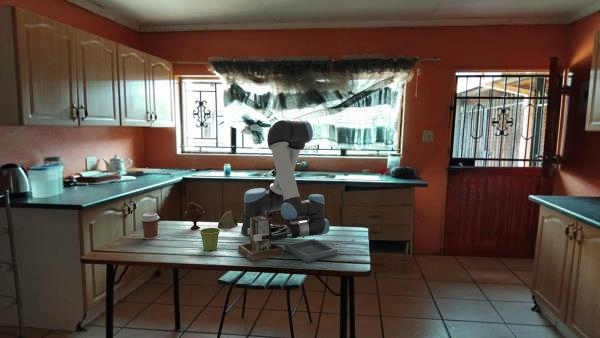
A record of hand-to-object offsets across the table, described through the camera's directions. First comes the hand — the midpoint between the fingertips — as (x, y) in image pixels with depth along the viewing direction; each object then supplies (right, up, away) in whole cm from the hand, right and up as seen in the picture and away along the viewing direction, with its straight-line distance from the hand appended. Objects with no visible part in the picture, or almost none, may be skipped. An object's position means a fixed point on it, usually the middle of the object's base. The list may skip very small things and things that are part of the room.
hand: (250, 234), depth 159 cm
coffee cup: (-55, -6, +25) cm, 61 cm away
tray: (+26, -9, +3) cm, 28 cm away
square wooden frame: (+4, -9, +3) cm, 10 cm away
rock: (-20, -4, +47) cm, 51 cm away
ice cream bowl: (-37, -4, +42) cm, 56 cm away
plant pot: (-20, -8, +9) cm, 23 cm away
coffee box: (+4, -9, +3) cm, 10 cm away
